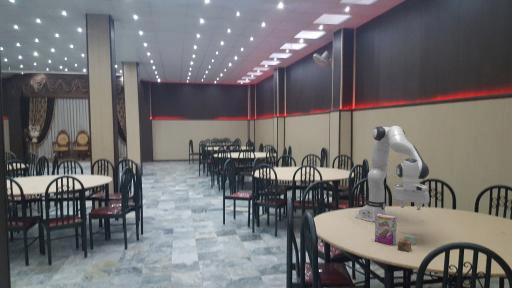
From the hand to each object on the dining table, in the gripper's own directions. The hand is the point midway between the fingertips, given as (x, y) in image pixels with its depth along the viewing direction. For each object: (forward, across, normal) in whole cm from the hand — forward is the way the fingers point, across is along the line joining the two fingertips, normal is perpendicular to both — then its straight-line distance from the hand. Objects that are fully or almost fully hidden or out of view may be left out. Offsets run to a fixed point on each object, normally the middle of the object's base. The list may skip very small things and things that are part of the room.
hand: (410, 208), depth 207 cm
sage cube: (+21, 0, 0) cm, 21 cm away
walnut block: (+21, +2, -13) cm, 25 cm away
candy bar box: (+21, -11, -9) cm, 26 cm away
